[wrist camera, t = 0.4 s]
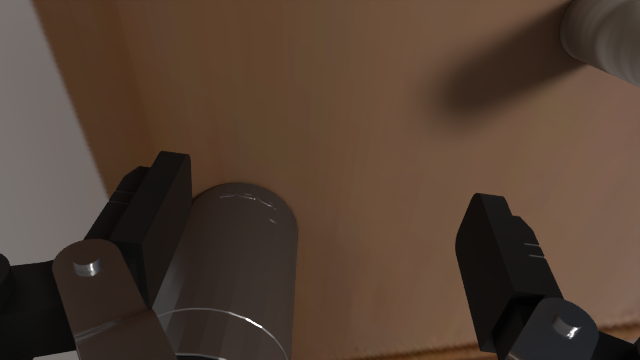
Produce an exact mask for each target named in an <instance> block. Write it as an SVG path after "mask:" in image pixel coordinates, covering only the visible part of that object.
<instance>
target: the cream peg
mask: <svg viewBox="0 0 640 360" xmlns="http://www.w3.org/2000/svg"><path fill="white" fill-rule="evenodd" d="M559 37H560V42H561V45H562V47H563V49H564V50H565V51H566V52H567V53H568V54H569V55H570V56H572V57H573V58H575V59H578V60H580V61H582V62H584V63H587V64H589V65H591V66H593V67H595V68H598V69H600V70H602V71H604V72H607V73H609V74H611V75H613V76H615V77H618V78H620V79H622V80H624V81H627V82H629V83H631V84H633V85H636V86H638V87H640V0H574V1H573V2H572V3H571V4H570V5H569V6H568V8H567V9H566V11H565V13H564V15H563V17H562V20H561V23H560V28H559Z"/></svg>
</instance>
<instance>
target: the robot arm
mask: <svg viewBox="0 0 640 360" xmlns="http://www.w3.org/2000/svg"><path fill="white" fill-rule="evenodd" d="M297 244H298V228H297V223H296V219H295V217H294V215H293V213H292V211H291V209H290V208H289V207H288V206H287V204H286V203H285V202H284V201H283V200H282V199H281V198H279V197H278V196H277V195H276V194H274V193H272V192H271V191H269V190H267V189H265V188H262V187H259V186H256V185H253V184H246V183H228V184H224V185H220V186H216V187H214V188H212V189H210V190H208V191H206V192H204V193H203V194H202V195H201V196H199V197H198V198H197V199H196V200H195V202H194V203H193V204H192V181H191V159H190V156H189V154H182V153H174V152H167V151H161V152H160V153H159V154H158V156H157V158H156V159H155V161H154V163H153V165H152V166H151V168H150V167H142V166H139V167H137V168H136V169H134V170H133V171H131V172H130V173H129V174H127V175H126V176H124V178H123V179H122V181H121V182H120V184H119V185H118V187H117V189H116V192H114V193H113V195H112V196H111V198H110V199H109V202H108V203H107V204H106V206H105V207H104V209H103V210H102V212H101V213H100V215H99V216H98V218H97V219H96V221H95V223H94V224H93V226H92V227H91V229H90V230H89V232H88V234H87V235H86V236H85V238H84V240H82V241H79V242H76V243H73V244H71V245H69V246H67V247H66V248H64V249H63V250H62V251H61V252H60V253H59V254H58V255H57V256H56V258H55V259H54V260H51V261H47V262H41V263H33V264H24V265H15V266H10V264H9V261H8V259H7V258H6V257H5V256H3V255H2V254H0V360H33V358H34V357H39V356H45V355H51V354H57V353H63V352H69V351H74V350H76V351H77V354H78V358H79V360H291V351H292V333H293V315H294V298H295V280H296V265H297ZM455 251H456V256H457V260H458V264H459V268H460V272H461V276H462V280H463V284H464V288H465V292H466V296H467V300H468V304H469V308H470V312H471V316H472V320H473V324H474V328H475V332H476V336H477V340H478V344H479V348H480V351H483V352H491V353H497V357H498V360H640V337H639V338H638V339H637V341H636V342H635V343H634V344H632V343H629V342H626V341H624V340H621V339H619V338H616V337H613V336H611V335H608V334H606V333H603V332H601V331H598V328H597V325H596V323H595V322H594V320H593V319H592V318H591V317H590V315H589V314H588V313H586V312H585V311H584V310H583V309H582V308H580V307H579V306H577V305H576V304H574V303H572V302H570V301H567V300H564V298H563V296H562V293H561V291H560V289H559V287H558V285H557V282H556V280H555V278H554V276H553V274H552V272H551V269H550V267H549V265H548V263H547V261H546V259H544V254H543V252H542V250H541V247H539V243H538V241H537V239H536V236H535V234H534V232H533V230H532V229H531V228H530V227H529V226H528V225H527V224H526V223H525V222H524V221H523V220H522V218H521V217H520V216H512V214H511V211H510V209H509V206H508V204H507V202H506V200H505V198H504V197H503V196H496V195H488V194H481V193H475V194H474V195H473V197H472V199H471V201H470V204H469V206H468V208H467V211H466V213H465V216H464V218H463V220H462V223H461V225H460V228H459V230H458V233H457V236H456V243H455Z"/></svg>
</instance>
